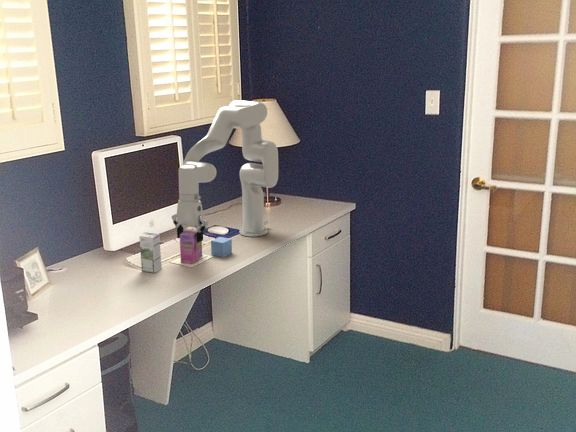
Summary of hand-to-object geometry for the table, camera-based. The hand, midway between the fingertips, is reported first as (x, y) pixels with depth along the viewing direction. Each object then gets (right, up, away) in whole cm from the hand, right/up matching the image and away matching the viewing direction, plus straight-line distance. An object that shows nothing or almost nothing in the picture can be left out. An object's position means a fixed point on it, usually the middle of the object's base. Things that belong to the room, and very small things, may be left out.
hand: (190, 239), depth 265 cm
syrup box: (-13, -12, -8) cm, 20 cm away
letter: (0, -8, +3) cm, 9 cm away
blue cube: (+12, -6, +10) cm, 16 cm away
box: (0, -8, +3) cm, 9 cm away
